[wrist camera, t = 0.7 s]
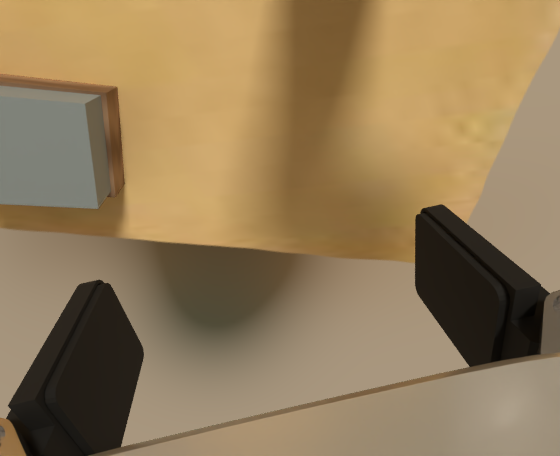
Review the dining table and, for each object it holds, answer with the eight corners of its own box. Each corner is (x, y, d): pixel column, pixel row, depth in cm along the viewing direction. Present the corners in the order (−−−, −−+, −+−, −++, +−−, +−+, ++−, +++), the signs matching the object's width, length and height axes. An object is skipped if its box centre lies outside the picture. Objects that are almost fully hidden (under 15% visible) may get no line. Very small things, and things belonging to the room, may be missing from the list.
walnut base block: (-41, 68, 37) (-73, 73, 33) (118, 86, 39) (106, 92, 35) (-14, 172, 42) (-39, 187, 38) (125, 182, 44) (115, 197, 40)
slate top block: (-65, 79, 33) (-104, 86, 29) (100, 95, 35) (84, 103, 32) (-34, 182, 38) (-64, 201, 34) (111, 191, 40) (98, 208, 36)
